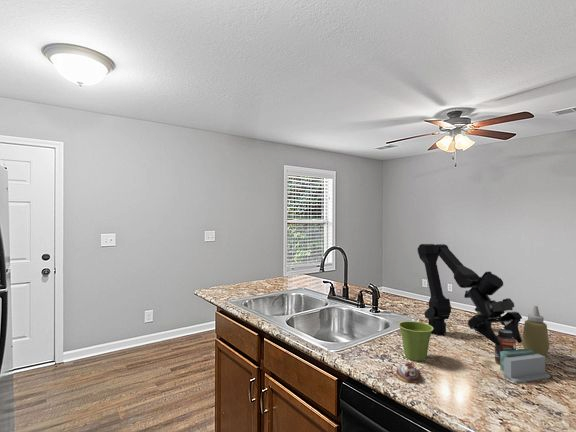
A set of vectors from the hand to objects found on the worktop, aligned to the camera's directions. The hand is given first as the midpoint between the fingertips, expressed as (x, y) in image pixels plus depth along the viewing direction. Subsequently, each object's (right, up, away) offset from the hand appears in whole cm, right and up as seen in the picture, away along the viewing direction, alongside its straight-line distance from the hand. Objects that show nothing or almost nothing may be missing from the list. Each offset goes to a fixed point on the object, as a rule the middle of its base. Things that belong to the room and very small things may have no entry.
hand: (510, 343), depth 108 cm
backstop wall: (+1, -8, -5) cm, 10 cm away
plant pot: (-29, -8, +8) cm, 31 cm away
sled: (-1, -8, +2) cm, 9 cm away
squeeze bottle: (+17, -9, +11) cm, 23 cm away
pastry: (-37, -8, -7) cm, 38 cm away
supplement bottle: (-1, -8, +2) cm, 8 cm away
